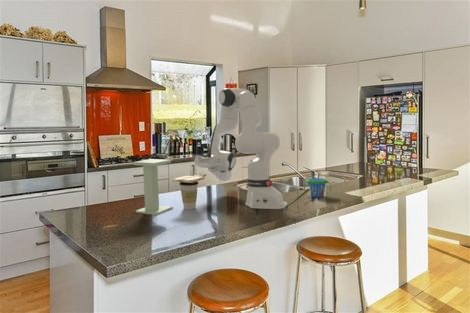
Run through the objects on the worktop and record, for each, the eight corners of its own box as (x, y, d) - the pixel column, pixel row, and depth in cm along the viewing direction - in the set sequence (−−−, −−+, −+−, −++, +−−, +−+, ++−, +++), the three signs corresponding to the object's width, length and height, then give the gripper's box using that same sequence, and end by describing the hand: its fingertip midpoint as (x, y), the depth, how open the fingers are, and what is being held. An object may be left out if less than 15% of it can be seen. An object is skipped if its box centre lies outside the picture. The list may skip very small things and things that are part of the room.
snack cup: (302, 197, 219) (302, 180, 218) (305, 193, 229) (305, 177, 228) (329, 199, 214) (330, 181, 212) (331, 195, 223) (331, 178, 222)
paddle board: (212, 176, 208) (212, 174, 208) (192, 182, 189) (192, 180, 189) (193, 175, 213) (193, 173, 213) (172, 181, 194) (172, 179, 194)
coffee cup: (195, 210, 193) (195, 182, 191) (177, 210, 195) (176, 181, 193) (201, 206, 202) (200, 178, 201) (183, 205, 204) (183, 178, 202)
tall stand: (172, 208, 198) (171, 159, 195) (156, 215, 186) (154, 163, 183) (152, 206, 204) (150, 158, 201) (135, 212, 191) (133, 162, 188)
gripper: (201, 161, 228) (190, 151, 217) (231, 161, 220) (222, 151, 208) (199, 171, 226) (188, 161, 214) (229, 171, 217) (219, 162, 206)
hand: (205, 156), depth 211 cm, fingers open, 8 cm apart
